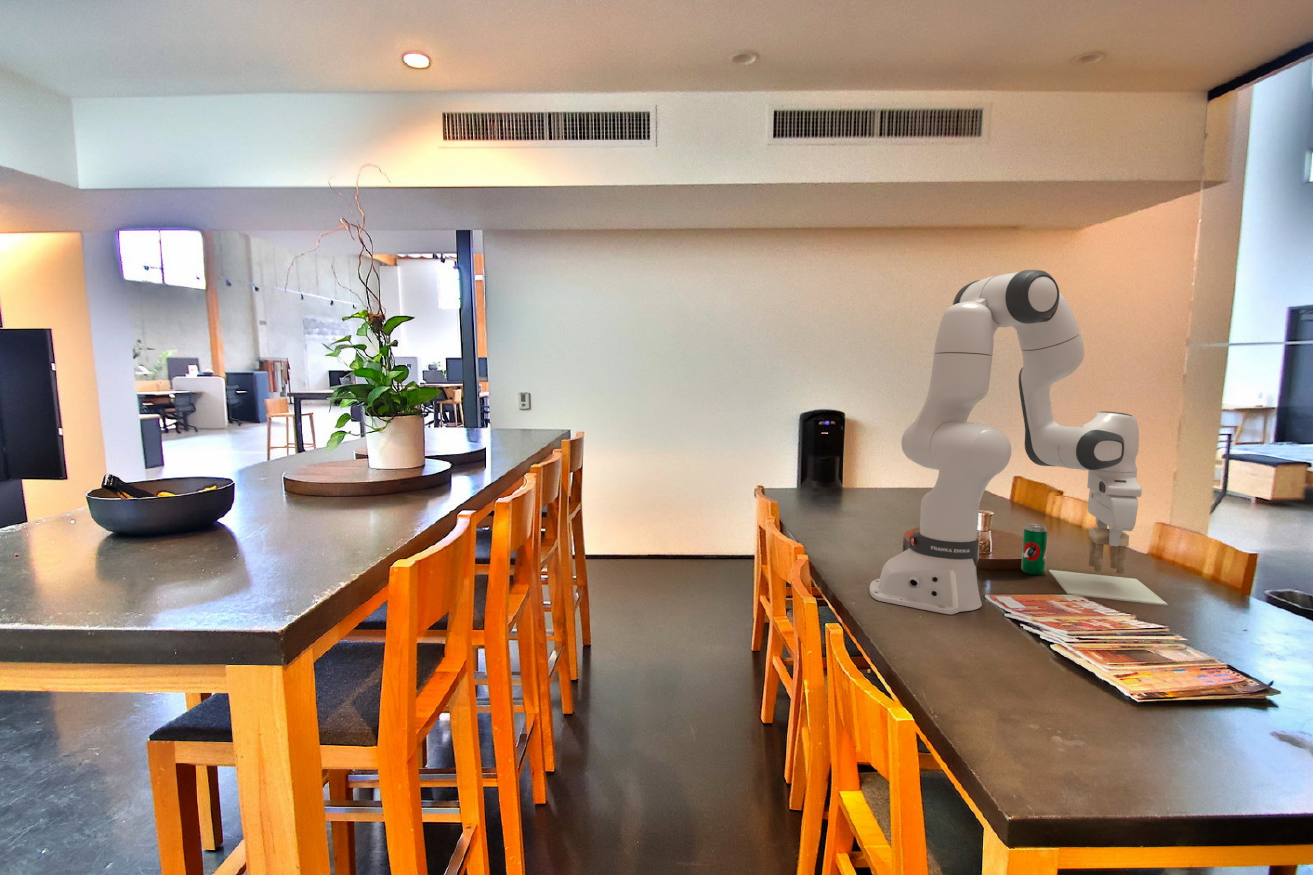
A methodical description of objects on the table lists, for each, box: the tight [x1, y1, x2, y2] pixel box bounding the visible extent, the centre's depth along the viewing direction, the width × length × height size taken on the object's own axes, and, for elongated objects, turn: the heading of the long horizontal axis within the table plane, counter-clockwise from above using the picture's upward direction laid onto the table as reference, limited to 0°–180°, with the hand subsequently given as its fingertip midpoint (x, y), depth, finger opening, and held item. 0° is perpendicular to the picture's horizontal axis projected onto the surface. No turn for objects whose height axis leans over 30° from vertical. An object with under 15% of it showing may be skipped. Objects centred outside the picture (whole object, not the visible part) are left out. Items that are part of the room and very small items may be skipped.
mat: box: [1048, 569, 1169, 607], centre depth 138 cm, size 18×18×1 cm
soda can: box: [1020, 523, 1049, 576], centre depth 148 cm, size 5×5×12 cm
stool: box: [1088, 526, 1130, 575], centre depth 138 cm, size 6×6×9 cm
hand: (1107, 541), depth 137 cm, fingers closed on stool, 6 cm apart
